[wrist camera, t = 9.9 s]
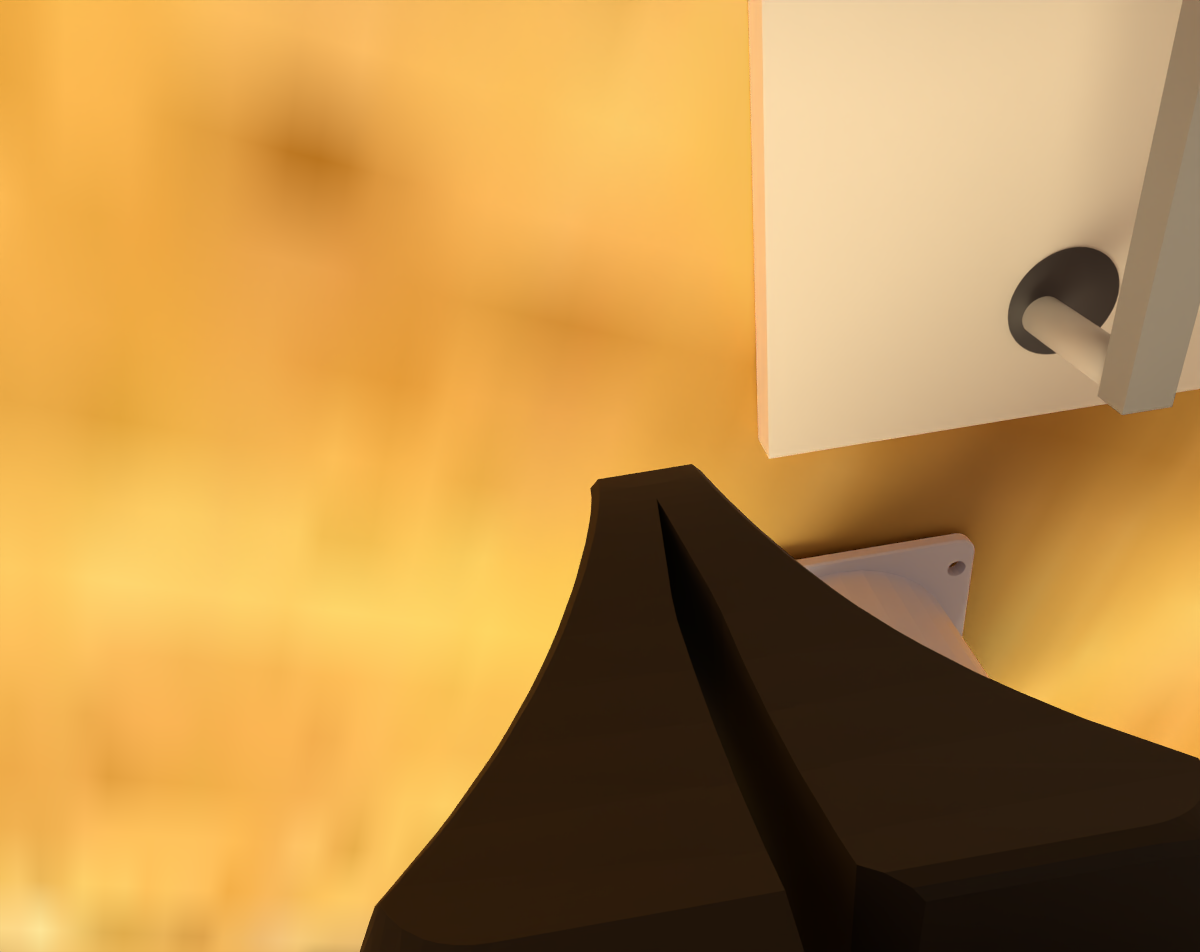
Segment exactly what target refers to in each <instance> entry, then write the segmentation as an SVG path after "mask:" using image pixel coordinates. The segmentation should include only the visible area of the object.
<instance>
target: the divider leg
mask: <svg viewBox="0 0 1200 952" xmlns="http://www.w3.org/2000/svg"><path fill="white" fill-rule="evenodd" d="M1199 305H1200V0H1183V1H1182V5H1181V10H1180V15H1179V19H1178V24H1177V29H1176V33H1175V38H1174V43H1173V47H1172V52H1171V57H1170V61H1169V66H1168V70H1167V75H1166V80H1165V84H1164V89H1163V94H1162V98H1161V103H1160V108H1159V112H1158V117H1157V122H1156V126H1155V131H1154V136H1153V140H1152V145H1151V149H1150V154H1149V159H1148V163H1147V168H1146V173H1145V177H1144V182H1143V187H1142V191H1141V196H1140V201H1139V205H1138V210H1137V214H1136V219H1135V224H1134V228H1133V233H1132V238H1131V242H1130V247H1129V252H1128V256H1127V261H1126V266H1125V270H1124V275H1123V280H1122V284H1121V289H1120V293H1119V298H1118V303H1117V307H1116V312H1115V317H1114V321H1113V326H1112V331H1111V334H1109V333H1108V332H1106V331H1105V330H1103V329H1102V328H1100V327H1099V326H1097V325H1095V324H1094V323H1092V322H1091V321H1089V320H1088V319H1086V318H1085V317H1083V316H1082V315H1080V314H1079V313H1077V312H1076V311H1074V310H1073V309H1071V308H1070V307H1068V306H1067V305H1065V304H1063V303H1062V302H1060V301H1059V300H1057V299H1056V298H1054V297H1050V296H1045V297H1041V298H1038V299H1037V300H1035V301H1033V302H1032V303H1031V304H1030V305H1029V306H1028V307H1027V309H1026V310H1025V312H1024V314H1023V318H1022V323H1023V327H1024V328H1025V330H1026V331H1028V332H1029V333H1030V334H1032V335H1033V336H1034V337H1036V338H1037V339H1038V340H1040V341H1041V342H1042V343H1044V344H1045V345H1046V346H1048V347H1049V348H1050V349H1052V350H1053V351H1054V352H1056V353H1057V354H1058V355H1060V356H1061V357H1062V358H1064V359H1065V360H1066V361H1068V362H1069V363H1070V364H1072V365H1073V366H1074V367H1076V368H1077V369H1078V370H1080V371H1081V372H1082V373H1084V374H1085V375H1086V376H1088V377H1089V378H1090V379H1092V380H1093V381H1094V382H1096V383H1097V384H1098V385H1100V386H1099V391H1098V397H1099V398H1101V399H1102V400H1103V401H1104V402H1106V403H1107V404H1108V405H1110V406H1111V407H1112V408H1113V409H1115V410H1116V411H1117V412H1119V413H1120V414H1121V415H1125V414H1131V413H1137V412H1143V411H1150V410H1156V409H1162V408H1168V407H1172V406H1173V402H1174V398H1175V394H1176V391H1177V387H1178V383H1179V380H1180V376H1181V372H1182V368H1183V365H1184V361H1185V357H1186V354H1187V350H1188V346H1189V342H1190V339H1191V335H1192V331H1193V328H1194V324H1195V320H1196V316H1197V313H1198V309H1199Z"/></svg>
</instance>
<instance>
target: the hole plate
mask: <svg viewBox="0 0 1200 952" xmlns="http://www.w3.org/2000/svg"><path fill="white" fill-rule="evenodd" d="M1182 1H1183V0H748V12H749V56H750V99H751V143H752V187H753V231H754V274H755V318H756V362H757V406H758V439H759V441H760V443H761V445H762V447H763V449H764V450H765V452H766V454H767V456H768V458H769V459H770V458H776V457H783V456H789V455H795V454H801V453H807V452H813V451H819V450H826V449H832V448H838V447H844V446H850V445H856V444H863V443H869V442H875V441H881V440H887V439H893V438H900V437H906V436H912V435H918V434H924V433H930V432H937V431H943V430H949V429H955V428H961V427H967V426H973V425H980V424H986V423H992V422H998V421H1004V420H1010V419H1017V418H1023V417H1029V416H1035V415H1041V414H1047V413H1054V412H1060V411H1066V410H1072V409H1078V408H1084V407H1091V406H1097V405H1103V404H1107V403H1106V402H1104V401H1103V400H1102V399H1101V398H1099V397H1098V391H1099V386H1100V385H1098V384H1097V383H1096V382H1094V381H1093V380H1092V379H1090V378H1089V377H1088V376H1086V375H1085V374H1084V373H1082V372H1081V371H1080V370H1078V369H1077V368H1076V367H1074V366H1073V365H1072V364H1070V363H1069V362H1068V361H1066V360H1065V359H1064V358H1062V357H1061V356H1060V355H1058V354H1057V353H1056V352H1054V351H1053V350H1052V349H1050V348H1049V347H1048V346H1046V345H1045V344H1044V343H1042V342H1041V341H1040V340H1038V339H1037V338H1036V337H1034V336H1033V335H1032V334H1030V333H1029V332H1028V331H1026V330H1025V328H1024V327H1023V323H1022V318H1023V314H1024V312H1025V310H1026V309H1027V307H1028V306H1029V305H1030V304H1031V303H1032V302H1033V301H1035V300H1037V299H1038V298H1041V297H1045V296H1050V297H1054V298H1056V299H1057V300H1059V301H1060V302H1062V303H1063V304H1065V305H1067V306H1068V307H1070V308H1071V309H1073V310H1074V311H1076V312H1077V313H1079V314H1080V315H1082V316H1083V317H1085V318H1086V319H1088V320H1089V321H1091V322H1092V323H1094V324H1095V325H1097V326H1099V327H1100V328H1102V329H1103V330H1105V331H1106V332H1108V333H1109V334H1111V331H1112V326H1113V321H1114V317H1115V312H1116V307H1117V303H1118V298H1119V293H1120V289H1121V284H1122V280H1123V275H1124V270H1125V266H1126V261H1127V256H1128V252H1129V247H1130V242H1131V238H1132V233H1133V228H1134V224H1135V219H1136V214H1137V210H1138V205H1139V201H1140V196H1141V191H1142V187H1143V182H1144V177H1145V173H1146V168H1147V163H1148V159H1149V154H1150V149H1151V145H1152V140H1153V136H1154V131H1155V126H1156V122H1157V117H1158V112H1159V108H1160V103H1161V98H1162V94H1163V89H1164V84H1165V80H1166V75H1167V70H1168V66H1169V61H1170V57H1171V52H1172V47H1173V43H1174V38H1175V33H1176V29H1177V24H1178V19H1179V15H1180V10H1181V5H1182ZM1195 389H1200V305H1199V309H1198V313H1197V316H1196V320H1195V324H1194V328H1193V331H1192V335H1191V339H1190V342H1189V346H1188V350H1187V354H1186V357H1185V361H1184V365H1183V368H1182V372H1181V376H1180V380H1179V383H1178V387H1177V391H1176V393H1177V392H1183V391H1189V390H1195Z"/></svg>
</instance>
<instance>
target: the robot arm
mask: <svg viewBox="0 0 1200 952" xmlns="http://www.w3.org/2000/svg"><path fill="white" fill-rule="evenodd" d="M591 496H592V502H591V515H590V523H589V528H588V533H587V539H586V543H585V547H584V551H583V555H582V559H581V562H580V566H579V570H578V574H577V577H576V581H575V584H574V587H573V590H572V593H571V595H570V598H569V601H568V604H567V606H566V609H565V612H564V615H563V617H562V620H561V623H560V626H559V628H558V631H557V633H556V636H555V638H554V640H553V643H552V645H551V647H550V650H549V652H548V654H547V656H546V659H545V661H544V663H543V665H542V667H541V669H540V671H539V673H538V675H537V677H536V679H535V681H534V683H533V685H532V687H531V689H530V691H529V693H528V695H527V697H526V698H525V700H524V702H523V704H522V706H521V707H520V709H519V711H518V713H517V715H516V716H515V718H514V720H513V722H512V723H511V725H510V727H509V729H508V731H507V732H506V734H505V735H504V737H503V739H502V740H501V742H500V744H499V745H498V747H497V748H496V750H495V752H494V753H493V755H492V756H491V758H490V759H489V761H488V762H487V764H486V765H485V766H484V768H483V769H482V771H481V772H480V774H479V775H478V776H477V778H476V779H475V781H474V782H473V784H472V785H471V786H470V788H469V789H468V791H467V792H466V794H465V795H464V796H463V798H462V799H461V801H460V802H459V804H458V805H457V806H456V808H455V809H454V811H453V812H452V814H451V815H450V816H449V818H448V819H447V820H446V822H445V823H444V824H443V825H442V827H441V828H440V829H439V831H438V832H437V833H436V834H435V836H434V837H433V838H432V839H431V840H430V842H429V843H428V844H427V845H426V846H425V848H424V849H423V850H422V851H421V852H420V854H419V855H418V856H417V857H416V858H415V860H414V861H413V862H412V863H411V864H410V866H409V867H408V868H407V869H406V870H405V872H404V873H403V874H402V875H401V876H400V877H399V879H398V880H397V881H396V882H395V883H394V885H393V886H392V887H391V888H390V889H389V891H388V892H387V893H386V894H385V895H384V896H383V898H382V899H381V900H380V901H379V902H378V903H377V905H376V906H375V908H374V911H373V913H372V916H371V919H370V922H369V925H368V928H367V931H366V934H365V937H364V940H363V943H362V947H361V950H360V952H1200V760H1199V759H1198V758H1196V757H1193V756H1190V755H1188V754H1185V753H1182V752H1179V751H1176V750H1173V749H1170V748H1167V747H1165V746H1162V745H1159V744H1156V743H1153V742H1150V741H1147V740H1144V739H1141V738H1139V737H1136V736H1133V735H1130V734H1127V733H1124V732H1121V731H1118V730H1115V729H1113V728H1110V727H1107V726H1104V725H1101V724H1098V723H1095V722H1092V721H1089V720H1087V719H1084V718H1081V717H1079V716H1076V715H1074V714H1071V713H1069V712H1066V711H1064V710H1061V709H1059V708H1057V707H1054V706H1052V705H1049V704H1047V703H1045V702H1042V701H1040V700H1038V699H1035V698H1033V697H1030V696H1028V695H1026V694H1023V693H1021V692H1018V691H1016V690H1014V689H1011V688H1009V687H1007V686H1005V685H1003V684H1000V683H998V682H996V681H994V680H992V679H990V678H989V676H988V675H987V673H986V672H985V671H984V669H983V668H982V666H981V665H980V663H979V662H978V660H977V659H976V657H975V656H974V654H973V653H972V651H971V650H970V648H969V647H968V645H967V644H966V642H965V641H964V639H963V638H962V635H963V628H964V622H965V615H966V608H967V601H968V594H969V587H970V580H971V573H972V566H973V560H974V553H975V549H974V545H973V544H972V542H971V541H970V540H969V539H968V537H967V536H966V535H963V534H961V533H955V534H949V535H943V536H936V537H930V538H924V539H918V540H912V541H906V542H900V543H894V544H888V545H882V546H876V547H870V548H864V549H858V550H852V551H846V552H840V553H834V554H828V555H822V556H816V557H810V558H804V559H798V560H795V559H794V558H793V557H791V556H790V555H789V554H788V553H787V552H785V551H784V550H783V549H782V548H781V547H780V546H778V545H777V544H776V543H775V542H774V541H773V540H772V539H770V538H769V537H768V536H767V535H766V534H765V533H763V532H762V531H761V530H760V529H759V528H758V527H757V526H756V525H754V524H753V523H752V522H751V521H750V520H749V519H748V518H747V517H746V516H745V515H744V514H743V513H742V512H741V511H740V510H739V509H737V508H736V507H735V506H734V505H733V504H732V503H731V502H730V501H729V500H728V499H727V498H726V497H725V496H724V495H723V494H722V493H721V492H720V491H719V490H718V489H717V488H716V487H715V486H714V484H713V483H712V482H711V481H710V480H709V479H708V478H707V477H706V476H705V475H704V474H703V473H702V472H701V471H700V470H699V469H698V468H696V467H695V466H694V465H692V464H690V465H684V466H678V467H671V468H665V469H659V470H653V471H647V472H641V473H634V474H628V475H622V476H616V477H610V478H604V479H598V480H597V481H596V483H595V484H594V485H593V486H592V487H591ZM957 561H958V562H957ZM954 562H957V563H956V564H955V565H954V566H952V567H949V566H950V565H951V564H952V563H954Z"/></svg>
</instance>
